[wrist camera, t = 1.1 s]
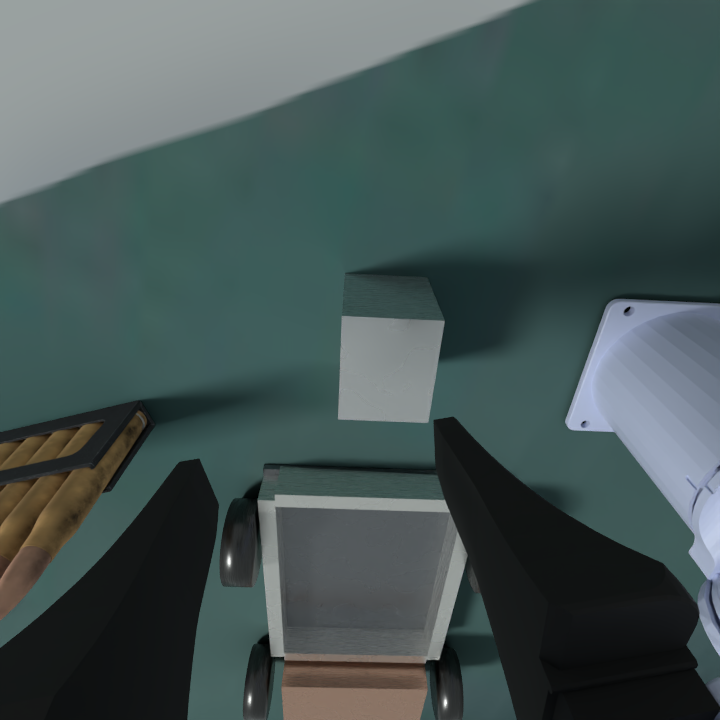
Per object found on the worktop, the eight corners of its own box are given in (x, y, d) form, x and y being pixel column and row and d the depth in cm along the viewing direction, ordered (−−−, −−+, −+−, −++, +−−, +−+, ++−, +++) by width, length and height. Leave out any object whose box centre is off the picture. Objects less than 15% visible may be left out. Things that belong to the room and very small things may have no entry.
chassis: (501, 472, 28) (527, 540, 24) (443, 672, 40) (454, 741, 36) (235, 463, 28) (212, 530, 23) (258, 668, 40) (246, 737, 36)
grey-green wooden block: (427, 276, 22) (444, 320, 17) (415, 365, 24) (427, 422, 20) (344, 272, 22) (342, 315, 17) (341, 362, 24) (338, 419, 20)
